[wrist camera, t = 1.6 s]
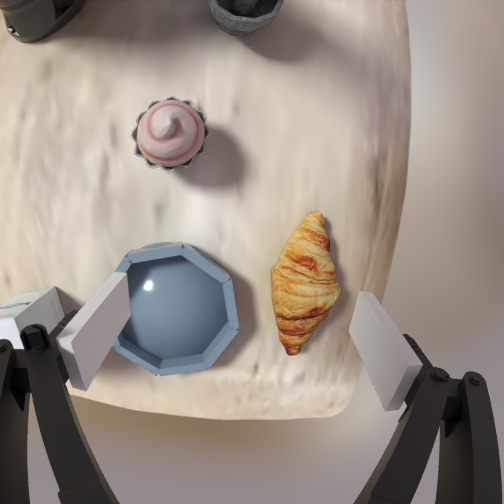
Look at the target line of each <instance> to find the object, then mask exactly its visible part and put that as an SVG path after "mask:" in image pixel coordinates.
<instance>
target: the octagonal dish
mask: <svg viewBox="0 0 504 504" xmlns="http://www.w3.org/2000/svg"><path fill="white" fill-rule="evenodd" d="M115 272H122V273H127V281H128V291H129V301H130V310H131V316H130V317H129V319H128V321H127V322H126V324H125V326H124V327H123V329H122V331H121V332H120V334H119V335H118V337H117V339H116V340H115V342H114V344H113V346H112V347H113V348H116V349H115V351H116V352H118V353H119V354H121V355H122V356H124V357H126V358H127V359H129V360H131V361H132V362H134V363H136V364H137V365H139V366H141V367H142V368H144V369H146V370H148V371H149V372H151V373H153V374H155V375H156V376H157V375H158V373H159V375H160V376H166V375H173V374H180V373H187V372H193V371H200V370H205V369H207V367H209V368H210V367H211V366H212V364H213V363H214V362H215V361H216V359H217V358H218V357H219V356H220V354H221V353H222V352H223V351H224V349H225V348H226V347H227V346H228V344H229V343H230V342H231V341H232V339H233V338H234V337H235V336H236V334H237V333H238V332H239V331H238V329H239V322H238V316H237V310H236V303H235V297H234V290H233V284H232V279H231V277H230V275H229V274H228V272H227V271H225V270H224V269H222V268H221V267H220V266H219V265H218V264H217V263H216V262H215V261H214V260H213V259H212V258H210V257H209V256H208V255H207V254H205V253H203V252H202V251H200V250H198V249H196V248H194V247H191V246H190V245H188V244H187V243H185V244H182V242H177V243H169V242H164V243H156V244H152V245H148V246H145V247H143V248H140V249H136V250H131V251H130V252H128V253H127V254H126V255H125V256H124V258H123V260H122V261H121V263H120V264H119V266H118V268H117V269H116V270H115Z"/></svg>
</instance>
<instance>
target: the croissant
mask: <svg viewBox="0 0 504 504" xmlns="http://www.w3.org/2000/svg"><path fill="white" fill-rule="evenodd" d="M324 226H325V219H324V217H323V215H322V214H321V213H320V211H313V212H311V213H310V214H308V215H307V217H306V218H305V219H304V220H303V222H302V223H301V224H300V225H299V227H298V228H296V229H295V231H294V232H293V233H292V235H291V237H290V238H289V239H288V240H287V242H286V244H285V246H284V247H283V249H282V252H281V254H280V257H279V259H278V262H277V264H276V266H273V267H272V269H271V287H272V303H273V309H274V313H275V319H276V323H277V326H278V329H279V338H280V341H281V343H282V344H283V346H284V347H285V350H286V353H287V354H288V355H290V356H292V355H297V354H298V353H299V352H300V349H301V345H302V344H304V342H307V340H308V339H309V338H310V336H311V335H312V334H313V331H314V330H315V328H316V327H317V326H318V324H319V323H320V322H321V321H322V320H325V318H326V317H327V315H328V311H329V309H330V308H331V307H332V306H333V305H334V304H335V303H336V301H337V300H338V298H339V296H340V294H341V288H340V287H339V284H338V283H337V282H335V280H336V272H335V270H336V267H335V264H334V263H333V262H332V259H331V258H330V253H329V252H330V239H329V237H328V236H327V234H326V230H325V229H324Z"/></svg>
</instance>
